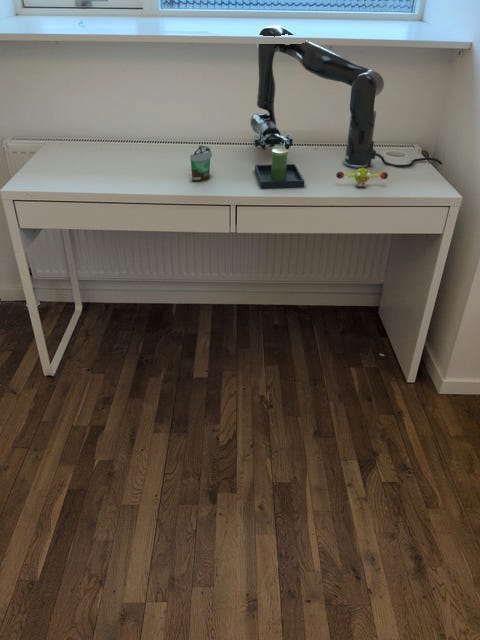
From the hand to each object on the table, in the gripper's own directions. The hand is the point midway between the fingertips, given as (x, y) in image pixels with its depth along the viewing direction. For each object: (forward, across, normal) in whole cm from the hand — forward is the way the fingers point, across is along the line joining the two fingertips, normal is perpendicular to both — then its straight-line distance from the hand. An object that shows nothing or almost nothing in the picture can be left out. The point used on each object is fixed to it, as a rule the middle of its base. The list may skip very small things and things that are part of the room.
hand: (276, 146), depth 198 cm
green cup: (+9, 0, +8) cm, 12 cm away
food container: (+6, -27, +9) cm, 29 cm away
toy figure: (+19, +28, +9) cm, 35 cm away
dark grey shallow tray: (+9, 0, +9) cm, 13 cm away
